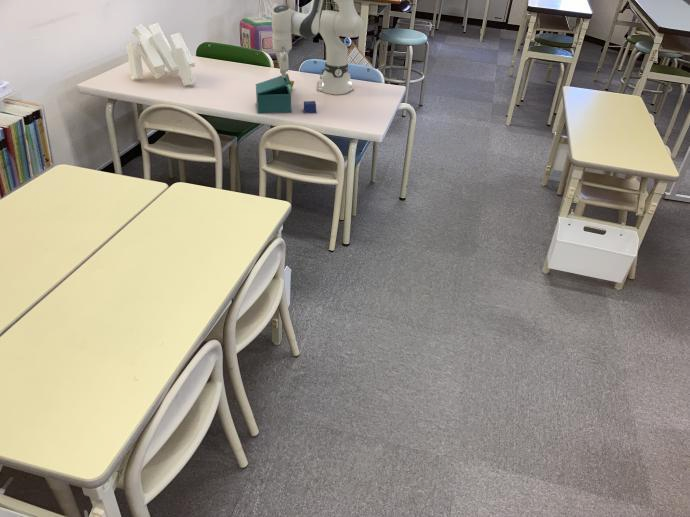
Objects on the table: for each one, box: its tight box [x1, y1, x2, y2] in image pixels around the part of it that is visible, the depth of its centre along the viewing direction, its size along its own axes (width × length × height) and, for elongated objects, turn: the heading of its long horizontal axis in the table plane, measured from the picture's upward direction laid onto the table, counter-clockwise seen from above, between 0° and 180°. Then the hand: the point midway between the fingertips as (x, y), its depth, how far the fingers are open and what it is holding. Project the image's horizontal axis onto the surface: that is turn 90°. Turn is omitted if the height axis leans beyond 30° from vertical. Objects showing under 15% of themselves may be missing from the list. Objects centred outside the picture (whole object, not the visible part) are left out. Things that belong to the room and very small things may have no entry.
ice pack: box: [302, 100, 317, 114], centre depth 266 cm, size 4×6×4 cm
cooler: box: [255, 86, 292, 114], centre depth 266 cm, size 16×13×9 cm
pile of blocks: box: [125, 22, 196, 87], centre depth 287 cm, size 35×30×35 cm
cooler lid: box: [255, 69, 291, 95], centre depth 260 cm, size 16×13×5 cm
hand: (282, 75), depth 260 cm, fingers closed on cooler lid, 5 cm apart
